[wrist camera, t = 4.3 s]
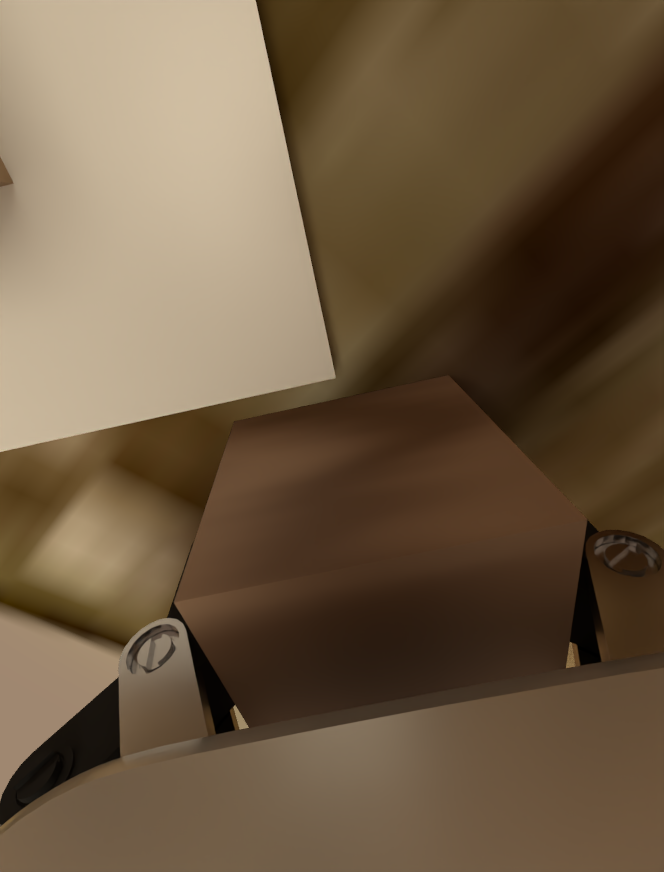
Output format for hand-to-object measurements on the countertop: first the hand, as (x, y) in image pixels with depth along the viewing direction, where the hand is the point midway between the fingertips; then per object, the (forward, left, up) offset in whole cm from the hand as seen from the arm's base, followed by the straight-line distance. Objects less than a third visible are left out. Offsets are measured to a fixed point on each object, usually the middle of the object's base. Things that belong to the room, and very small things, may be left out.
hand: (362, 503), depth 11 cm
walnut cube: (0, 0, -1) cm, 1 cm away
